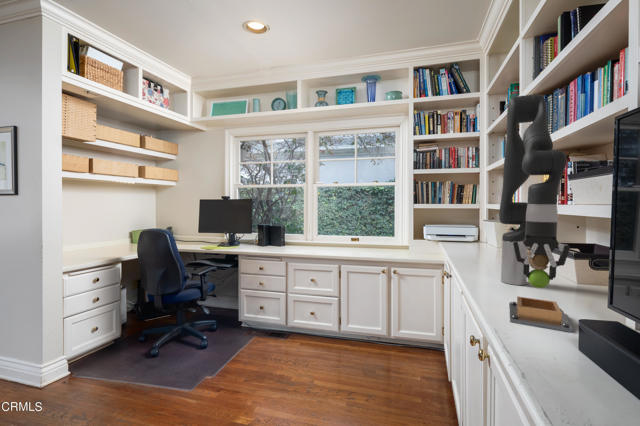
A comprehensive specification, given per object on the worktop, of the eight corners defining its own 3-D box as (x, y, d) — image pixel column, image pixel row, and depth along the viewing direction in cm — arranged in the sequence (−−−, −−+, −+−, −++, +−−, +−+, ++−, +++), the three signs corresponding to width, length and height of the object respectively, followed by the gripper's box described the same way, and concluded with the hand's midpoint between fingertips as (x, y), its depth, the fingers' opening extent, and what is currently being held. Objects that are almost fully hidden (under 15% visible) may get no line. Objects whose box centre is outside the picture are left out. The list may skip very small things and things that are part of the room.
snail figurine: (519, 284, 97) (521, 245, 96) (541, 285, 97) (543, 245, 96) (530, 290, 91) (533, 248, 91) (553, 290, 91) (556, 248, 91)
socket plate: (509, 305, 105) (509, 293, 104) (562, 313, 98) (563, 300, 98) (510, 321, 91) (510, 308, 91) (572, 332, 84) (573, 317, 84)
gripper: (570, 220, 93) (567, 278, 93) (512, 218, 100) (510, 272, 101) (575, 221, 86) (572, 284, 87) (512, 219, 93) (510, 277, 94)
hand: (538, 277), depth 94 cm, fingers closed on snail figurine, 5 cm apart
